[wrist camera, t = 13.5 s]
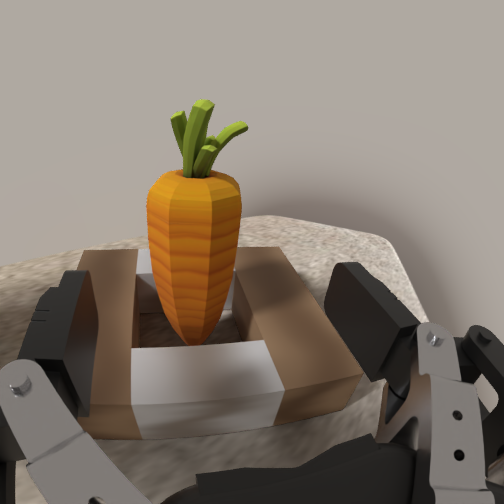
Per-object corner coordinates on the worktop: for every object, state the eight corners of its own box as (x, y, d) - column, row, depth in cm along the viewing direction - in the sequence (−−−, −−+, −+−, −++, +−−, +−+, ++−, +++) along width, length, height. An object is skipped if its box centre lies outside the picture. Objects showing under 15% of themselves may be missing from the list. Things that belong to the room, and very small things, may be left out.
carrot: (179, 314, 23) (183, 98, 16) (241, 334, 22) (268, 104, 15) (142, 356, 18) (126, 99, 12) (213, 384, 17) (230, 101, 10)
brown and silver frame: (63, 436, 12) (39, 400, 10) (90, 287, 24) (84, 250, 22) (343, 409, 16) (363, 372, 15) (272, 281, 28) (278, 246, 27)
